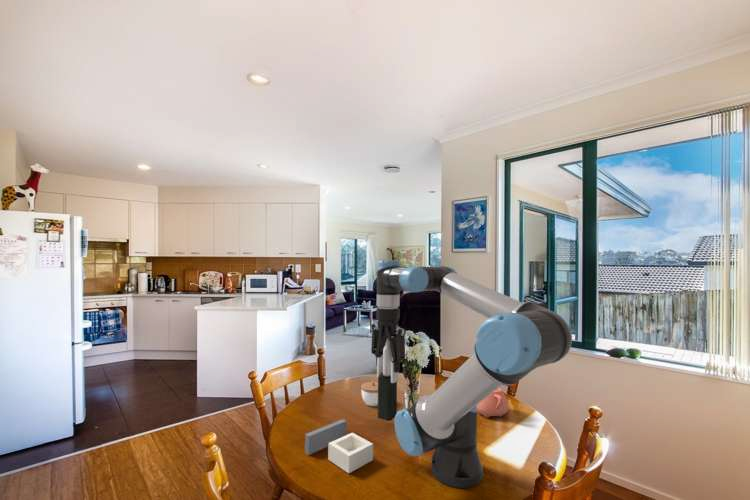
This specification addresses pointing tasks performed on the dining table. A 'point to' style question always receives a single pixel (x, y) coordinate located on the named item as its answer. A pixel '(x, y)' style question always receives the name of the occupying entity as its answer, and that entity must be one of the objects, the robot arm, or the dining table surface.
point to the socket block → (350, 452)
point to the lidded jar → (370, 393)
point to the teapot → (493, 404)
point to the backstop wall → (324, 436)
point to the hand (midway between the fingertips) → (387, 379)
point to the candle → (387, 388)
